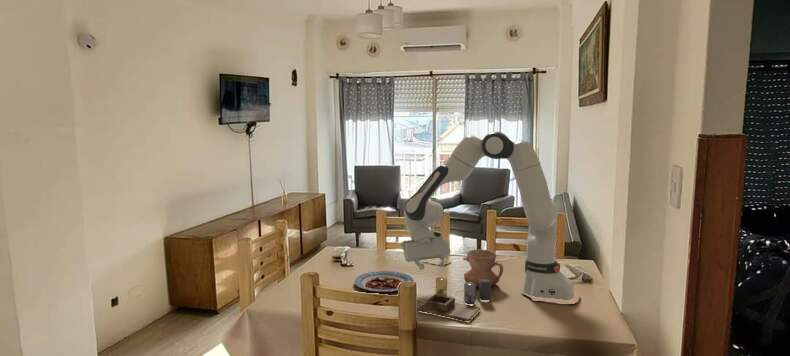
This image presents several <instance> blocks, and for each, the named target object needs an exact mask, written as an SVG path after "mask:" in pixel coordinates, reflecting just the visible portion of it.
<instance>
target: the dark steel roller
mask: <svg viewBox="0 0 790 356" xmlns="http://www.w3.org/2000/svg"><path fill="white" fill-rule="evenodd" d="M463 288H464V289H463V290H464V291H463V296H464V297H463V303H464V302H465V303H467V304H474V303H475V302H476V303H477V301H476V298H477V296H476V295H477V294H476V293H477V292H476V291H477V290H476V289H477V287H476V284H475V283H473V282H466V281H465V283H464V285H463Z"/></svg>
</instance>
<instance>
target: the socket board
mask: <svg viewBox="0 0 790 356" xmlns="http://www.w3.org/2000/svg"><path fill="white" fill-rule="evenodd" d="M455 301H456V299H455V297H451V296H442V295H437V294H436V293H434V295H432V296H431V297H430V298H428V299H427V300H426V301H425V302H424V303H423V304H421V305H420V306H418V307H417V312H418V311H422V312H427V313H432V314H436V315H441V316H445V317H450V318H454V319H458V320H462V321H470V320H471V318H472V317H473V316H474V315H475V314H476V313H477V312H478V311H479V310H480V311H481V307H479V306H476V305H475V306H470V305H465V304H464V303H461V302H460V303H458V302H455ZM471 321H472V320H471ZM471 321H470V322H471Z"/></svg>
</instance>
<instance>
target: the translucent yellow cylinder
mask: <svg viewBox="0 0 790 356" xmlns="http://www.w3.org/2000/svg"><path fill="white" fill-rule="evenodd" d="M447 285H448V278H446V277H436V278H435V294H437V295H442V296H447V294H448V286H447ZM447 297H448V296H447Z"/></svg>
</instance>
